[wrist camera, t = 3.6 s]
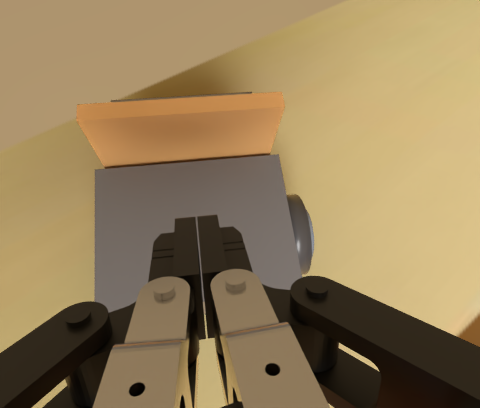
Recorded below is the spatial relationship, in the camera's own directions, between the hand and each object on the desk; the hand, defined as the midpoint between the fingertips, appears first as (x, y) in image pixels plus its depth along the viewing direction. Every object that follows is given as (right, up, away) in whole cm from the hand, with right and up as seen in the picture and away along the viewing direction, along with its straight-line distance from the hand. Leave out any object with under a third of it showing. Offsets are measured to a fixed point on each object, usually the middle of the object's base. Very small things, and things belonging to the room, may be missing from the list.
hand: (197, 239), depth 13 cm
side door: (-3, +2, +20) cm, 20 cm away
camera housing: (-1, -4, +19) cm, 19 cm away
